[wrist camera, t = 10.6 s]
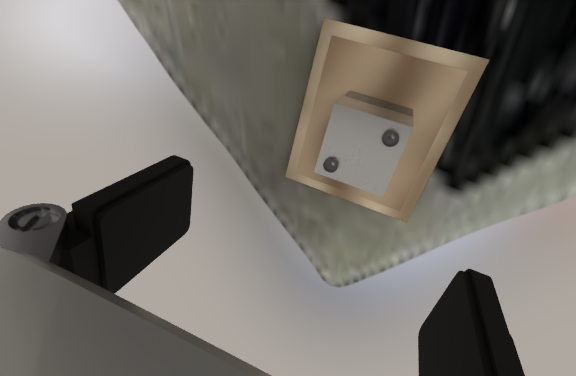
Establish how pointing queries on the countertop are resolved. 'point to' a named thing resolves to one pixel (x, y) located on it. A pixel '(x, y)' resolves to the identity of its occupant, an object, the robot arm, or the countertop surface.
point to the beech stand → (390, 87)
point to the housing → (364, 141)
